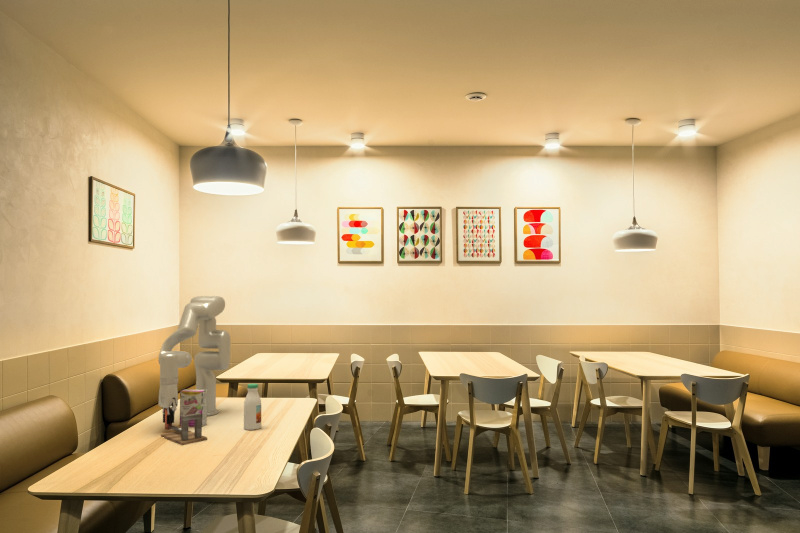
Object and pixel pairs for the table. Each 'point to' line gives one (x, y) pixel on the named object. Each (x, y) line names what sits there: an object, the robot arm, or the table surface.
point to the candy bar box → (193, 404)
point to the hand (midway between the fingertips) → (168, 422)
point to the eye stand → (187, 431)
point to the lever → (170, 426)
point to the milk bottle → (252, 408)
